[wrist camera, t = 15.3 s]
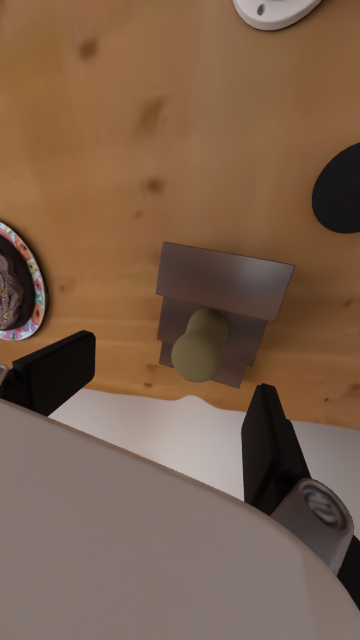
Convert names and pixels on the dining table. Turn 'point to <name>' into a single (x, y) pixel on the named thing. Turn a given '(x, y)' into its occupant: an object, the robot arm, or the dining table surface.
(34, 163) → the dining table surface
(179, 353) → the olive peg figure
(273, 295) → the spice rack
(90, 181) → the dining table surface
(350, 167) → the wine glass
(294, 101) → the dining table surface
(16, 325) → the chocolate cake
